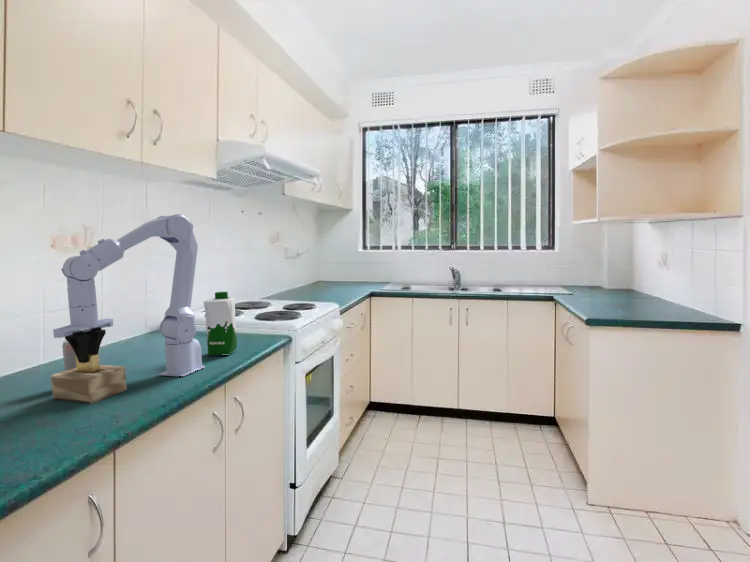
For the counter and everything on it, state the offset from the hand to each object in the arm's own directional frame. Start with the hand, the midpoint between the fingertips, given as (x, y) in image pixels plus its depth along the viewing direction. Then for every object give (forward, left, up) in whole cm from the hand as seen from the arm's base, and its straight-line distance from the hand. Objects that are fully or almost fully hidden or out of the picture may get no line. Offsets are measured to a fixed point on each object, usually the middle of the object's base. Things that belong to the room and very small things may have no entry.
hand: (88, 361), depth 113 cm
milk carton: (-43, +7, -9) cm, 44 cm away
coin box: (0, 0, -8) cm, 8 cm away
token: (0, 0, -3) cm, 3 cm away
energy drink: (-5, -10, -9) cm, 14 cm away
